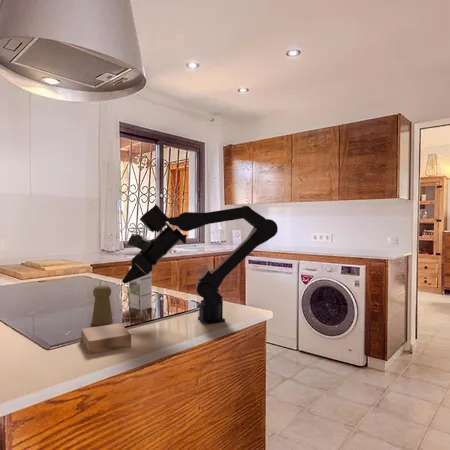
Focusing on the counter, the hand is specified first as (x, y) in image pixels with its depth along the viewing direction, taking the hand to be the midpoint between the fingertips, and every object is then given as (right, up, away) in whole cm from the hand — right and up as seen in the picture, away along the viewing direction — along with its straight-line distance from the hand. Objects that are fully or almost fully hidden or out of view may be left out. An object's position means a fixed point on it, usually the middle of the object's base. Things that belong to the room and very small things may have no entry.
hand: (125, 279), depth 107 cm
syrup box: (+1, -13, +16) cm, 20 cm away
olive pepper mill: (-7, -13, 0) cm, 15 cm away
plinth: (0, -14, -17) cm, 22 cm away
